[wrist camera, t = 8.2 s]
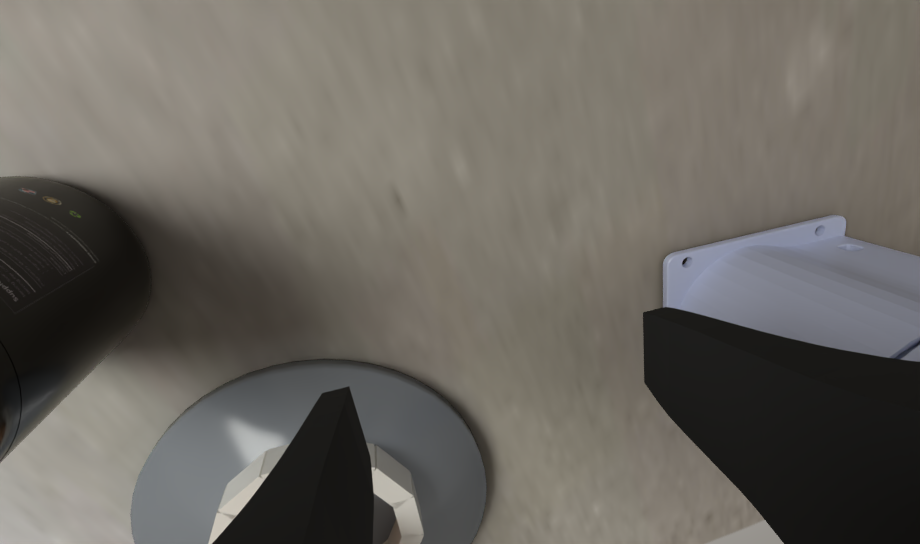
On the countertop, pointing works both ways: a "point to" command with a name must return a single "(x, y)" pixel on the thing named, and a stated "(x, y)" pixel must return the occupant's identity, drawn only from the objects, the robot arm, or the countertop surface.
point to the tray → (273, 428)
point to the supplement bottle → (60, 296)
